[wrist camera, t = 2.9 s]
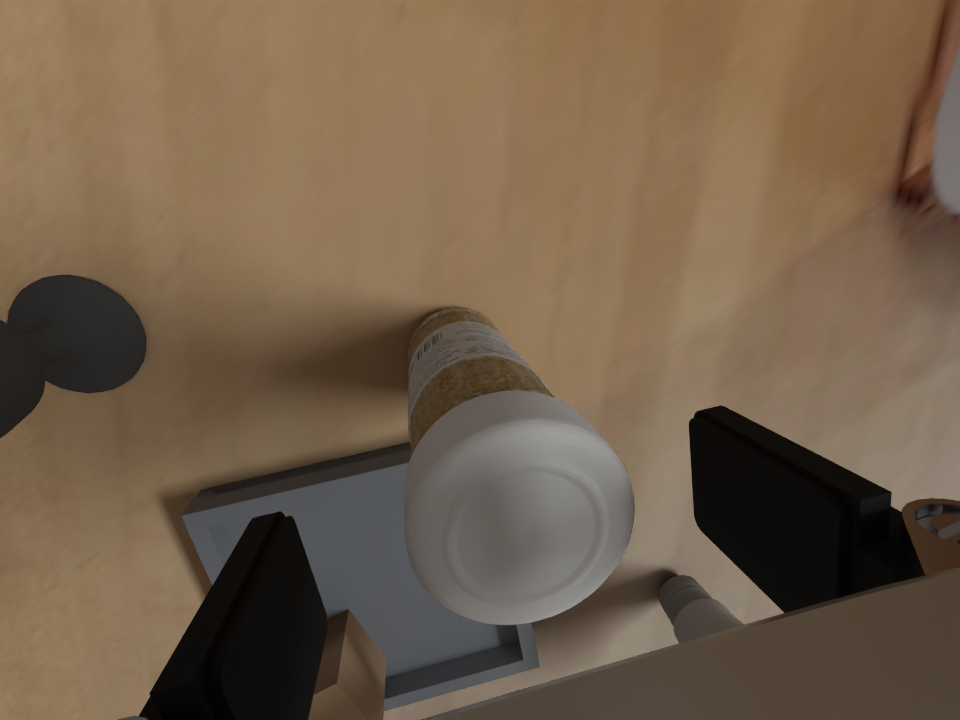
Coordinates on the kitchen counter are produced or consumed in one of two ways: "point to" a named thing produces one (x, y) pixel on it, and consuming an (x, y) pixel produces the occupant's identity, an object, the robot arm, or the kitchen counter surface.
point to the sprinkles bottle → (504, 480)
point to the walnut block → (349, 674)
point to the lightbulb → (693, 609)
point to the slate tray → (366, 569)
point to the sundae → (65, 343)
